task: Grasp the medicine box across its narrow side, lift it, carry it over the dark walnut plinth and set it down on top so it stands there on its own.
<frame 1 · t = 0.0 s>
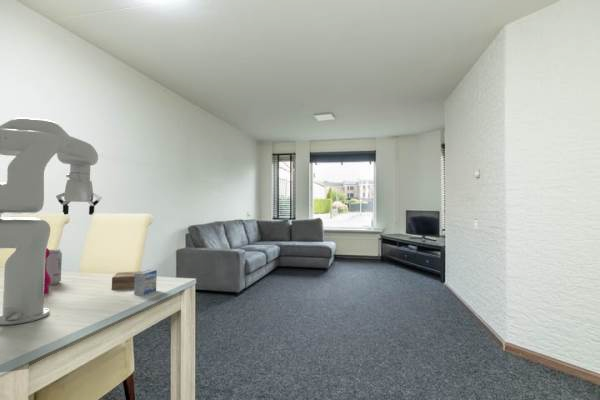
hand: (78, 214, 138), 31 cm above the table, tool pointing down, fingers open, 9 cm apart
medicine box: (145, 293, 124), on the table
walnut plinth: (127, 285, 134), on the table
grey upright box: (52, 284, 134), on the table
pepper mill: (38, 293, 120), on the table
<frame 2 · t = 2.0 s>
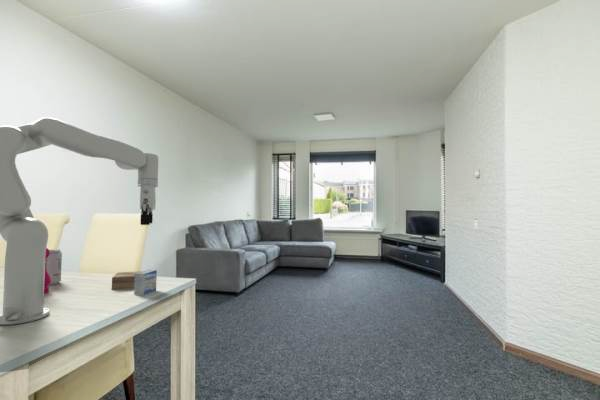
hand: (146, 223, 125), 28 cm above the table, tool pointing down, fingers open, 9 cm apart
nothing on the table moved.
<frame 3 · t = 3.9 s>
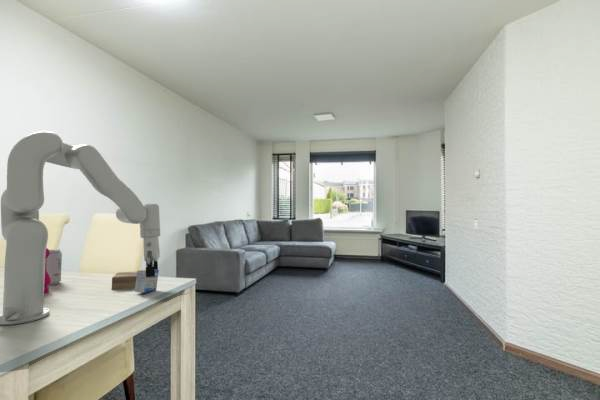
hand: (152, 273, 126), 8 cm above the table, tool pointing down, fingers open, 9 cm apart
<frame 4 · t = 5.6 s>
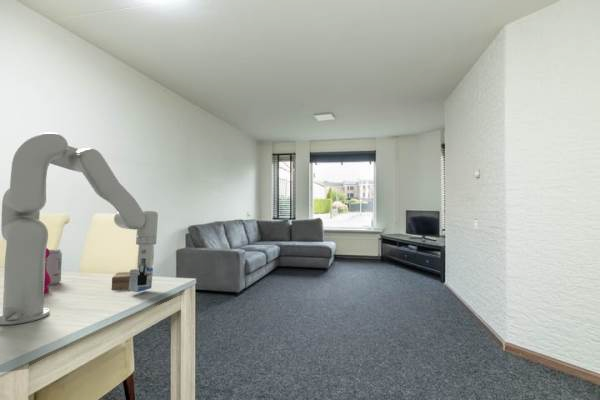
hand: (143, 282, 124), 4 cm above the table, tool pointing down, fingers closed on medicine box, 9 cm apart
medicine box: (140, 290, 123), point 1 cm above the table, touching gripper
everything else where it was.
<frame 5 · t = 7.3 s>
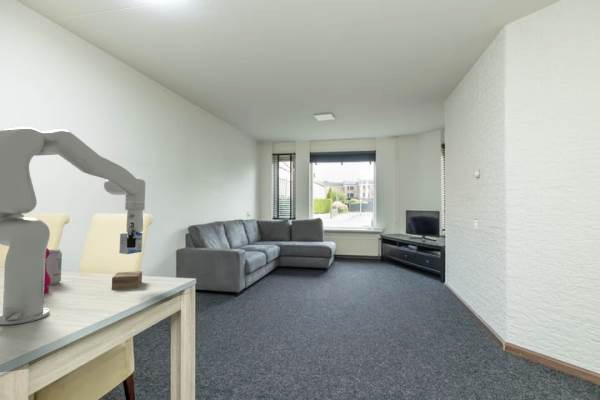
hand: (133, 245, 131), 18 cm above the table, tool pointing down, fingers closed on medicine box, 9 cm apart
medicine box: (130, 253, 131), point 15 cm above the table, touching gripper
everything else where it was.
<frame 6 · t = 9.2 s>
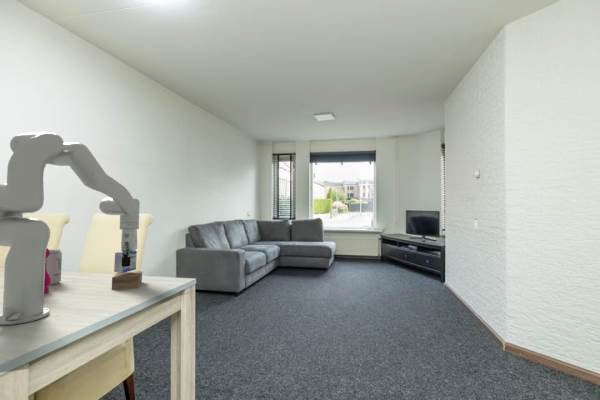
hand: (128, 264, 134), 10 cm above the table, tool pointing down, fingers closed on medicine box, 9 cm apart
medicine box: (125, 271, 133), point 6 cm above the table, touching gripper
everything else where it was.
when the fingers open (9 cm above the table, at t = 10.1 s): medicine box stays where it is, resting on walnut plinth.
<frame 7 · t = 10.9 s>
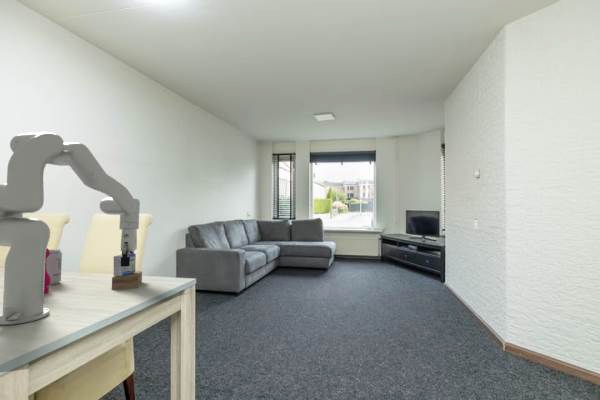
hand: (127, 264, 133), 10 cm above the table, tool pointing down, fingers open, 9 cm apart
medicine box: (124, 274, 133), point 5 cm above the table, touching gripper, walnut plinth
everything else where it was.
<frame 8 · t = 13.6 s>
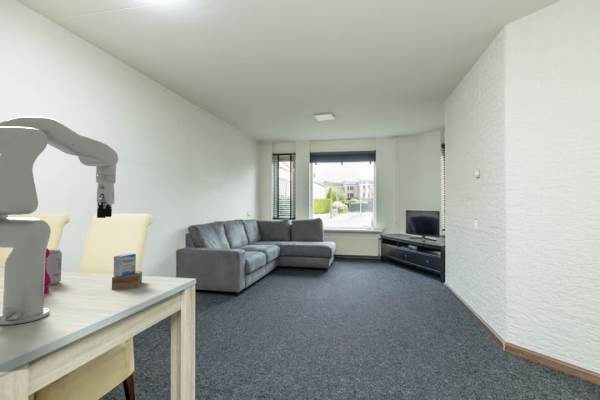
hand: (104, 217, 135), 30 cm above the table, tool pointing down, fingers open, 9 cm apart
medicine box: (124, 274, 133), point 5 cm above the table, touching walnut plinth
everything else where it was.
at the end: medicine box inside the target area on the walnut plinth (1.2 cm from its centre), point 5.0 cm above the walnut plinth's base; medicine box tilted 0°; the gripper is holding nothing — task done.
